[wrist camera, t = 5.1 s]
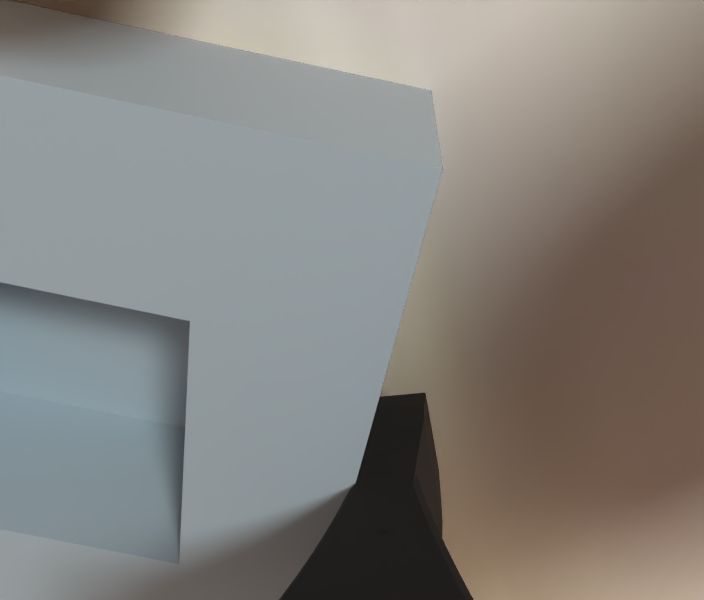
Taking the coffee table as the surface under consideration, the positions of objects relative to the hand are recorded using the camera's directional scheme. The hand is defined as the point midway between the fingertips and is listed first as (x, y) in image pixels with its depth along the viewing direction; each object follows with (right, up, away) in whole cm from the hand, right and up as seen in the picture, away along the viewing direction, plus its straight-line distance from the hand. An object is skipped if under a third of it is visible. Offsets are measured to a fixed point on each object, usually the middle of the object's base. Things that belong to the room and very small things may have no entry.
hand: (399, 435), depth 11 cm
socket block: (-5, +3, +1) cm, 6 cm away
